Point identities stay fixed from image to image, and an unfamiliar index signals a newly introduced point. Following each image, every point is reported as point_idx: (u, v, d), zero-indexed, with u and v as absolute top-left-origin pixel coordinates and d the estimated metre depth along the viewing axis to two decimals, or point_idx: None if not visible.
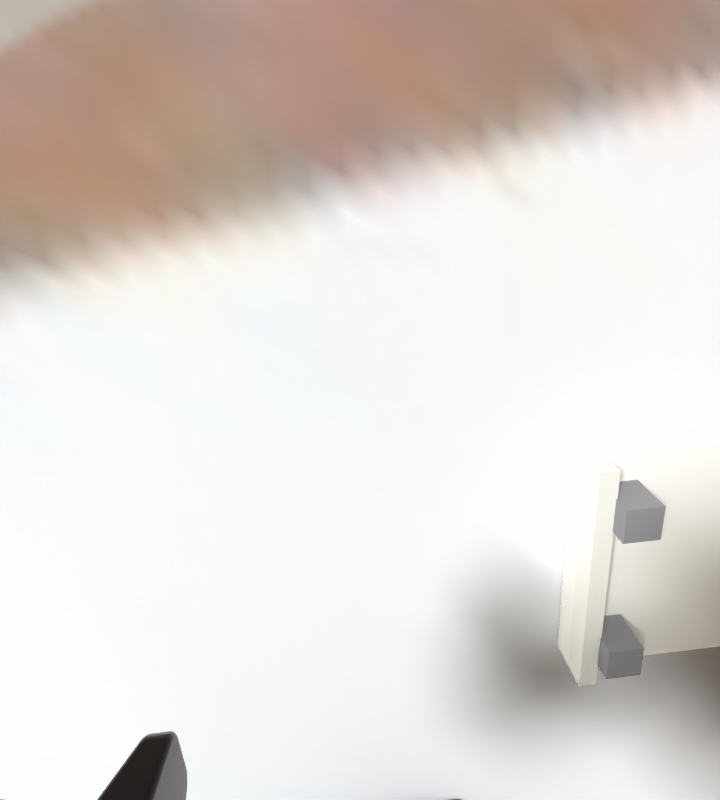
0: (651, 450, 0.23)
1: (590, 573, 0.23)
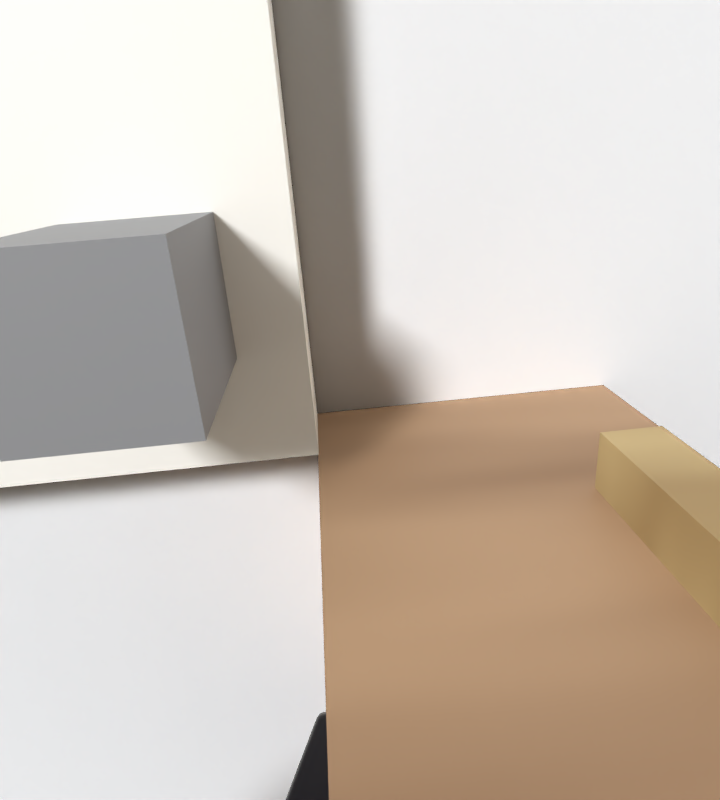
0: None
1: None
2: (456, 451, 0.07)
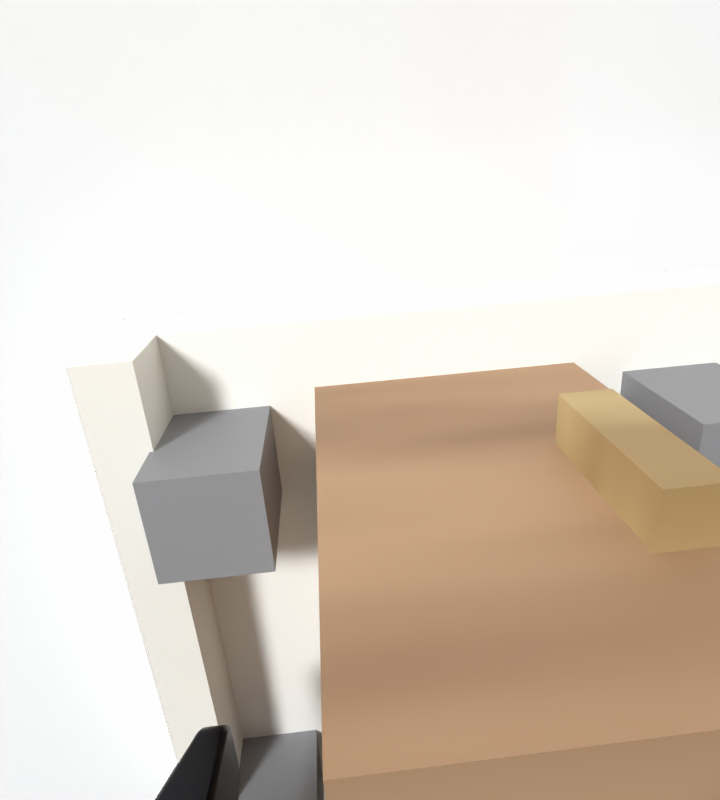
0: (289, 322, 0.08)
1: (149, 655, 0.09)
2: (437, 416, 0.07)
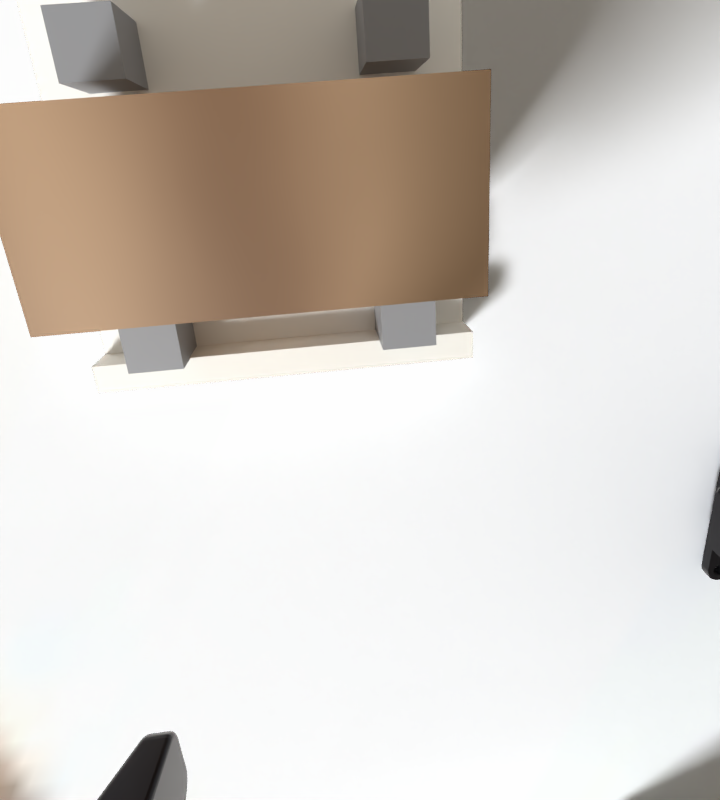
0: None
1: (261, 376, 0.17)
2: None
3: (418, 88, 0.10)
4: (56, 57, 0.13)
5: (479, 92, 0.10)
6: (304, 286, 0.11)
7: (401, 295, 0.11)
